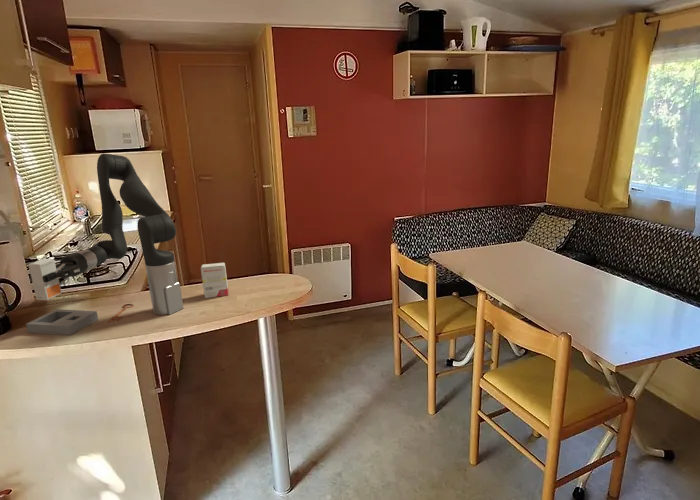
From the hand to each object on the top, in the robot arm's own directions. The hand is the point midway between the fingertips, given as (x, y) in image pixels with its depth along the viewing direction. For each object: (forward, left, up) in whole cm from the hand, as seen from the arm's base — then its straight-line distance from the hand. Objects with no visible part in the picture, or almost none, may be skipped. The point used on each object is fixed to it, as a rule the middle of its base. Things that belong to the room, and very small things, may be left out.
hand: (37, 279), depth 145 cm
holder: (-2, -3, -17) cm, 17 cm away
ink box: (-30, -44, -17) cm, 56 cm away
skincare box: (+1, -3, -7) cm, 8 cm away
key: (-11, -18, -18) cm, 28 cm away
